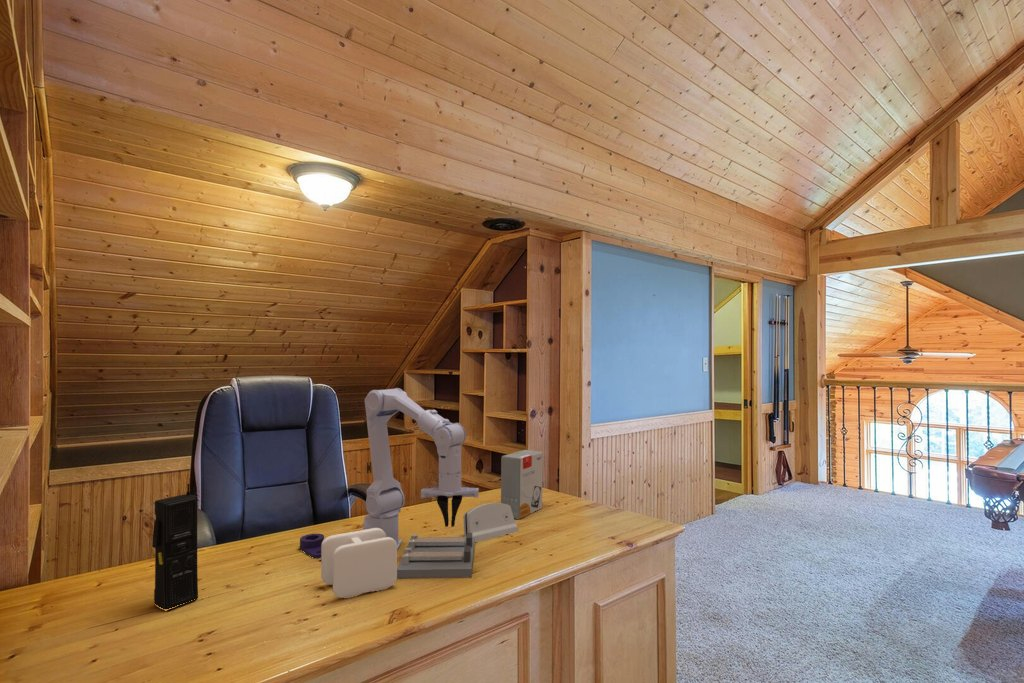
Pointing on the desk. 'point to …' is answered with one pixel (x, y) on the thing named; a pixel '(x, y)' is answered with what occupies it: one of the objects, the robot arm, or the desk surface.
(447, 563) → the base plate
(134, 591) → the desk surface
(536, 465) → the hard drive box
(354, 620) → the desk surface
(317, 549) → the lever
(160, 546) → the portable radio
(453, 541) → the strip
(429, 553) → the front strap
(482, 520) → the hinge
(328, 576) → the cable organizer
